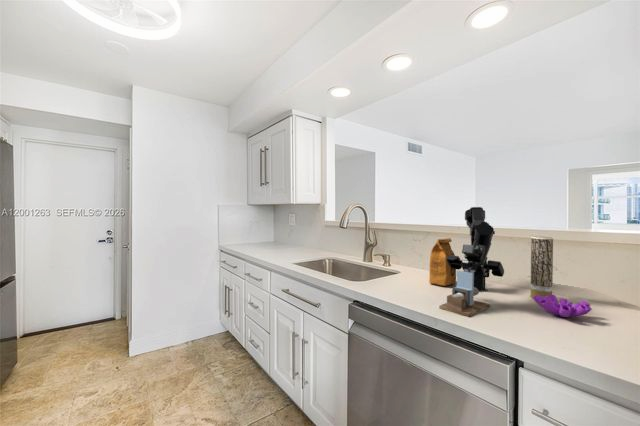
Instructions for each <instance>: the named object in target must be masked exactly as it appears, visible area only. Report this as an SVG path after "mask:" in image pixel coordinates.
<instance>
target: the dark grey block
mask: <svg viewBox="0 0 640 426" xmlns="http://www.w3.org/2000/svg"><path fill="white" fill-rule="evenodd" d="M451 288H452V291H451V293H452V294H451V295H454V294H457V291H459V292H463V293H465V298H466V306H467V307H468V306H470V290H466V289H461V288H457V287H456V286H454V287H451Z"/></svg>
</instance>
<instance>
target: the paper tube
mask: <svg viewBox="0 0 640 426" xmlns="http://www.w3.org/2000/svg"><path fill="white" fill-rule="evenodd" d="M530 239H531V240H530V297H531V299H533V297H534V296H536V295H540V296H541V297H545V296H548V295H553V282H554V281H553V279H554V277H553V275H554V273H553V272H554V266H553V262H554V238H553V237H552V236H551V237H550V236H536V235H535V236H531V237H530Z"/></svg>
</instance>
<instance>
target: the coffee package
mask: <svg viewBox="0 0 640 426" xmlns="http://www.w3.org/2000/svg"><path fill="white" fill-rule="evenodd" d="M451 242H452V239H451V238H439V239H437V241H436V242H435V243H434V246H433V247H432V248H431V253H430V258H429V281H428V283H429V284H431V285H437V286H445V287H447V286H450V285H454V284H455V283H457V269H452V268H450V266H449V264H448V262H447V260H446V259H447V257H448V256H449V255H453V256H456V255H455V252H454V251H453V250H452V247H451Z"/></svg>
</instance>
